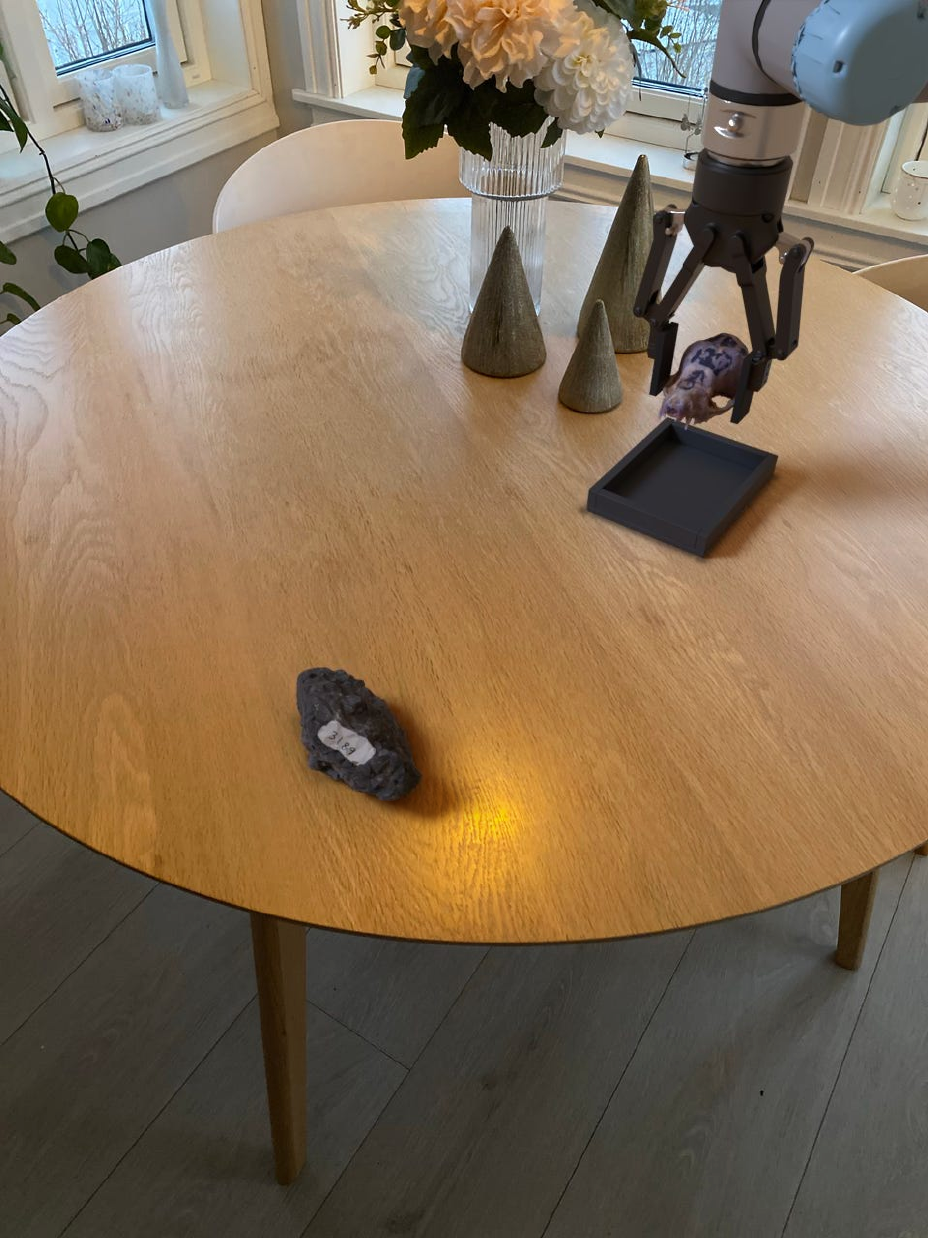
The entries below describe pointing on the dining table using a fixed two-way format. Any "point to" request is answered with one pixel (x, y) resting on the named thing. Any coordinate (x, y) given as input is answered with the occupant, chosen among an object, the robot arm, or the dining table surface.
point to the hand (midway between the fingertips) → (698, 402)
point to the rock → (354, 735)
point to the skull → (704, 379)
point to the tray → (682, 485)
